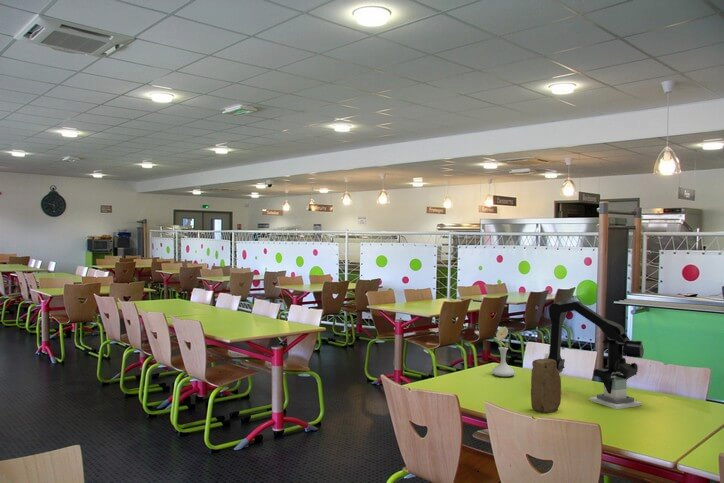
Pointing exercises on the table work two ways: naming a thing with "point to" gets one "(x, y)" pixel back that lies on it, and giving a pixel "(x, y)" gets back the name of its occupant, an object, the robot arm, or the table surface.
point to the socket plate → (615, 401)
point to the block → (545, 386)
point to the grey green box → (617, 389)
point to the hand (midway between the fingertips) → (615, 392)
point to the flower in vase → (503, 356)
